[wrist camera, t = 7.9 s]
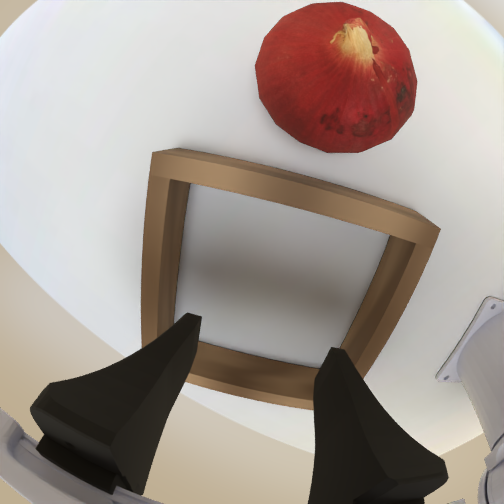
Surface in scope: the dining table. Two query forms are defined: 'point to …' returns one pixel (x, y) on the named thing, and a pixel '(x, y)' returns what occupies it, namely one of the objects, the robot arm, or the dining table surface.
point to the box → (295, 195)
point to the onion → (336, 77)
